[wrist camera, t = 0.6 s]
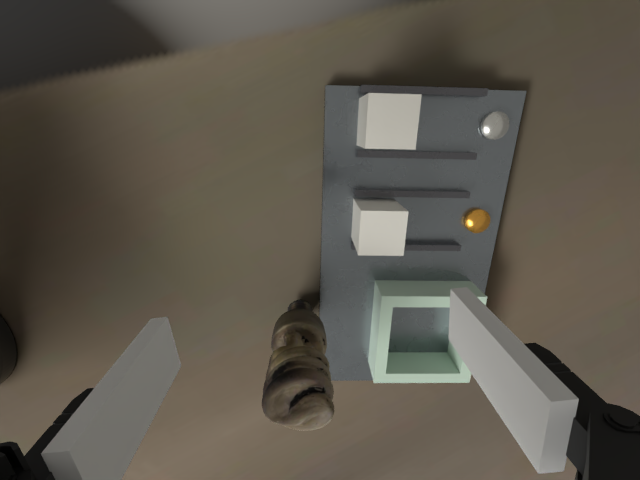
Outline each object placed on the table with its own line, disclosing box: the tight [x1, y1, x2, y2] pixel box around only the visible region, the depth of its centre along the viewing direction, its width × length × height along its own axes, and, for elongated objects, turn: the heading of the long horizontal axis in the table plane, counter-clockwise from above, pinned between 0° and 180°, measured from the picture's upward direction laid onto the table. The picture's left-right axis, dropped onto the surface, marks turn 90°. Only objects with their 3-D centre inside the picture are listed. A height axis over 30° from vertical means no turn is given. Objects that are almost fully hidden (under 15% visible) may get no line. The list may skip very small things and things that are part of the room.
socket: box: [368, 280, 487, 383], centre depth 35 cm, size 10×10×4 cm
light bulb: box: [262, 300, 334, 431], centre depth 30 cm, size 6×6×15 cm
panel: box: [319, 85, 526, 380], centre depth 34 cm, size 18×32×2 cm, turn 179°
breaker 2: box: [351, 198, 409, 256], centre depth 31 cm, size 4×4×5 cm
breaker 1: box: [356, 93, 422, 150], centre depth 28 cm, size 4×4×5 cm
